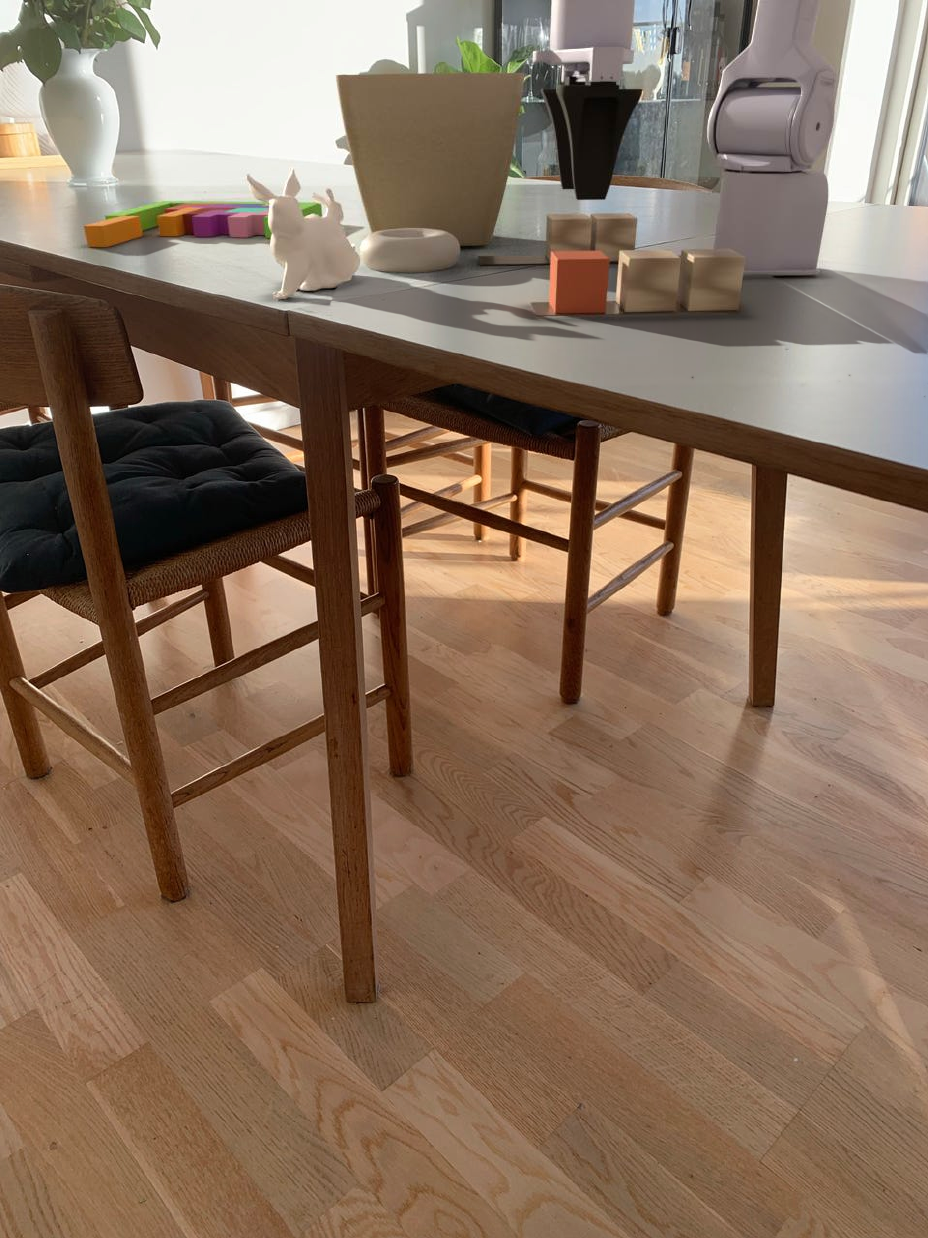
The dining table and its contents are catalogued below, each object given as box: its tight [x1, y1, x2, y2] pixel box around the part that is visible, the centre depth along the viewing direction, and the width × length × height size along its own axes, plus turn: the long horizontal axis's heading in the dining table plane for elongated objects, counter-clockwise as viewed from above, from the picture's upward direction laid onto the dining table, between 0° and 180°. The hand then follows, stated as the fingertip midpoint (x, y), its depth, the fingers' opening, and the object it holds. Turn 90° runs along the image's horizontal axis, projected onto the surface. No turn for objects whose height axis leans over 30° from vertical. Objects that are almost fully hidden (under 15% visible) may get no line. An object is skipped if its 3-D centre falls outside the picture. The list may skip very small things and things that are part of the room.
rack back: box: [477, 212, 638, 268], centre depth 93 cm, size 16×5×4 cm, turn 92°
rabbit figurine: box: [245, 167, 361, 300], centre depth 82 cm, size 12×8×10 cm, turn 140°
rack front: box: [529, 248, 746, 317], centre depth 72 cm, size 16×5×4 cm, turn 92°
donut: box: [359, 228, 461, 274], centre depth 91 cm, size 10×4×10 cm
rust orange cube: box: [548, 251, 610, 314], centre depth 72 cm, size 4×4×4 cm
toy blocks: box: [83, 200, 323, 248], centre depth 114 cm, size 23×2×25 cm
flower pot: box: [335, 72, 526, 247], centre depth 103 cm, size 19×19×17 cm
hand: (582, 193), depth 69 cm, fingers open, 7 cm apart
